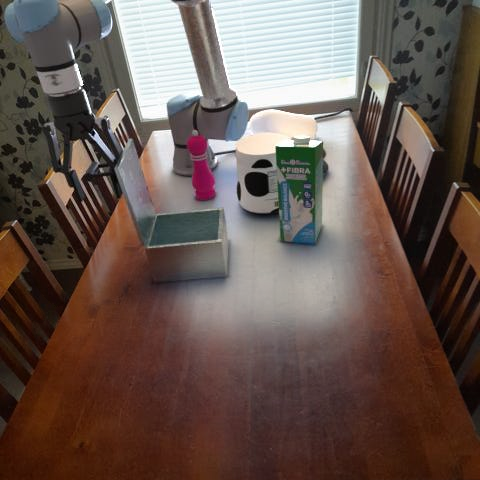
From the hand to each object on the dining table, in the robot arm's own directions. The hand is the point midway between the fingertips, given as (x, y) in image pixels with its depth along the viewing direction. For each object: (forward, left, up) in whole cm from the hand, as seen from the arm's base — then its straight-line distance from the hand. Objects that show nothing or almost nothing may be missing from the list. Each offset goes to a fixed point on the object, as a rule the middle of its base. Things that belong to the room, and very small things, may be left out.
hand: (100, 197), depth 104 cm
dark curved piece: (-65, -9, -20) cm, 68 cm away
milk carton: (-43, +19, -20) cm, 51 cm away
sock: (-78, -34, -20) cm, 87 cm away
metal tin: (-15, +10, -19) cm, 26 cm away
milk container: (-46, 0, -20) cm, 50 cm away
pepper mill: (-35, -19, -20) cm, 45 cm away
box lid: (-7, +5, 0) cm, 9 cm away
